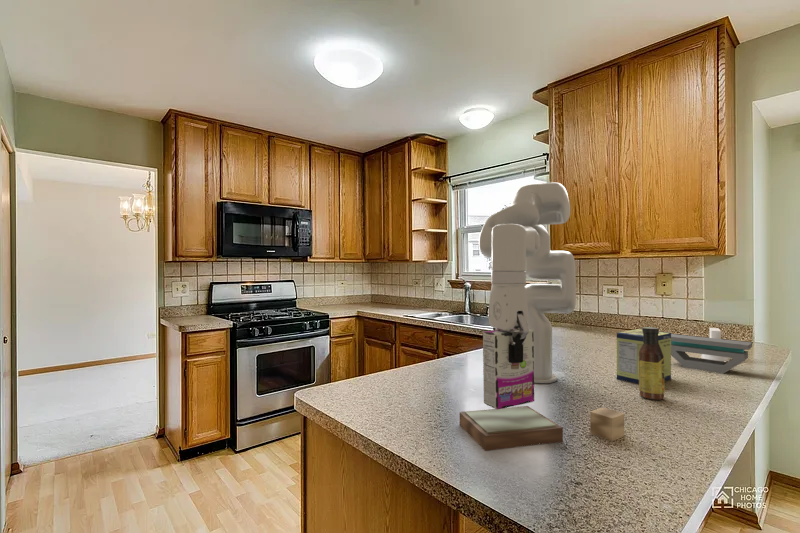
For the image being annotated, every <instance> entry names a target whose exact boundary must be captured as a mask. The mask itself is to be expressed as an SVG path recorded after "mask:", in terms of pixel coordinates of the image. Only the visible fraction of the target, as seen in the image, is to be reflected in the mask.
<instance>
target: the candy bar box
mask: <svg viewBox="0 0 800 533" xmlns="http://www.w3.org/2000/svg"><path fill="white" fill-rule="evenodd" d="M512 330H517V329H512ZM517 334H518V333H514V337H515V336H516V335H517ZM524 341H525V343H524V345H523V362H522V363H510V362H509V344H511V342H510V337H509V331H508V332H506V331H502V330H487V331H482V353H483V354H482V357H483V358H482V361H483V367H482V368H483V371H482V372H483V374H482V375H483V403H484V405H486V406H489V407H491V408H492V409H502V408H510V407H517V406H521V405H525V404H529V403H533V402H535V383H534V338H533V330H530V329H529V333H528V334H527V336H526V339H525V340H524Z"/></svg>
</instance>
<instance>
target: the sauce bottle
mask: <svg viewBox="0 0 800 533" xmlns="http://www.w3.org/2000/svg"><path fill="white" fill-rule="evenodd" d="M641 329H642V332H643V345H642V346H641V348H640V350H639V384H638V390H639V395H640V396H641V397H642V398H645V399H647V400H653V401H654V400H657V401H659V400H663V399H664V398H665V388H666V387H665V381H664V356H663V353H662V350H661V348H660V345H659V342H658V334H659V332H660V331H659V328H658V327H653V326H652V327H651V326H644V327H642V328H641Z"/></svg>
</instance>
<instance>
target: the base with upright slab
mask: <svg viewBox="0 0 800 533" xmlns="http://www.w3.org/2000/svg"><path fill="white" fill-rule="evenodd" d="M708 331H709V333H708V334H709V337H708V338H716V339H722V330H721V329H720V328H718V327H709V330H708ZM700 358H703V359H709V360H716V361H730V358H729V357H721V356H713V355H706V354H700Z"/></svg>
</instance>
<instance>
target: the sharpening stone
mask: <svg viewBox="0 0 800 533" xmlns="http://www.w3.org/2000/svg"><path fill="white" fill-rule="evenodd" d="M752 347H753V341H751V342H750V341H743V340H733V339H723V338H721V339H716V338H709V337H705V336H695V335H685V334H676V333H671V358H673V359H674V360H676V362H678V364H680V365H681V366H682V367H683V369H691V370H696V371H697V370H698V371H702V370H703V372H704V371H705V372H708V373H715V372H716V374H725V373H727V372H729V371H730V370H732V369H734V368H735V367H737V366H738V365H740V364H742V363H743V362H745V361H746V360H747V359H748V358H749V350H750V349H752ZM688 353H692V354H699V355H701V354H706V355H713V356H721V357H729V361H728V362H724V361H716V360H709V359H702V358H701V357H700V358H699V357H693V356H690V355H688ZM730 358H731V359H730Z"/></svg>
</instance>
